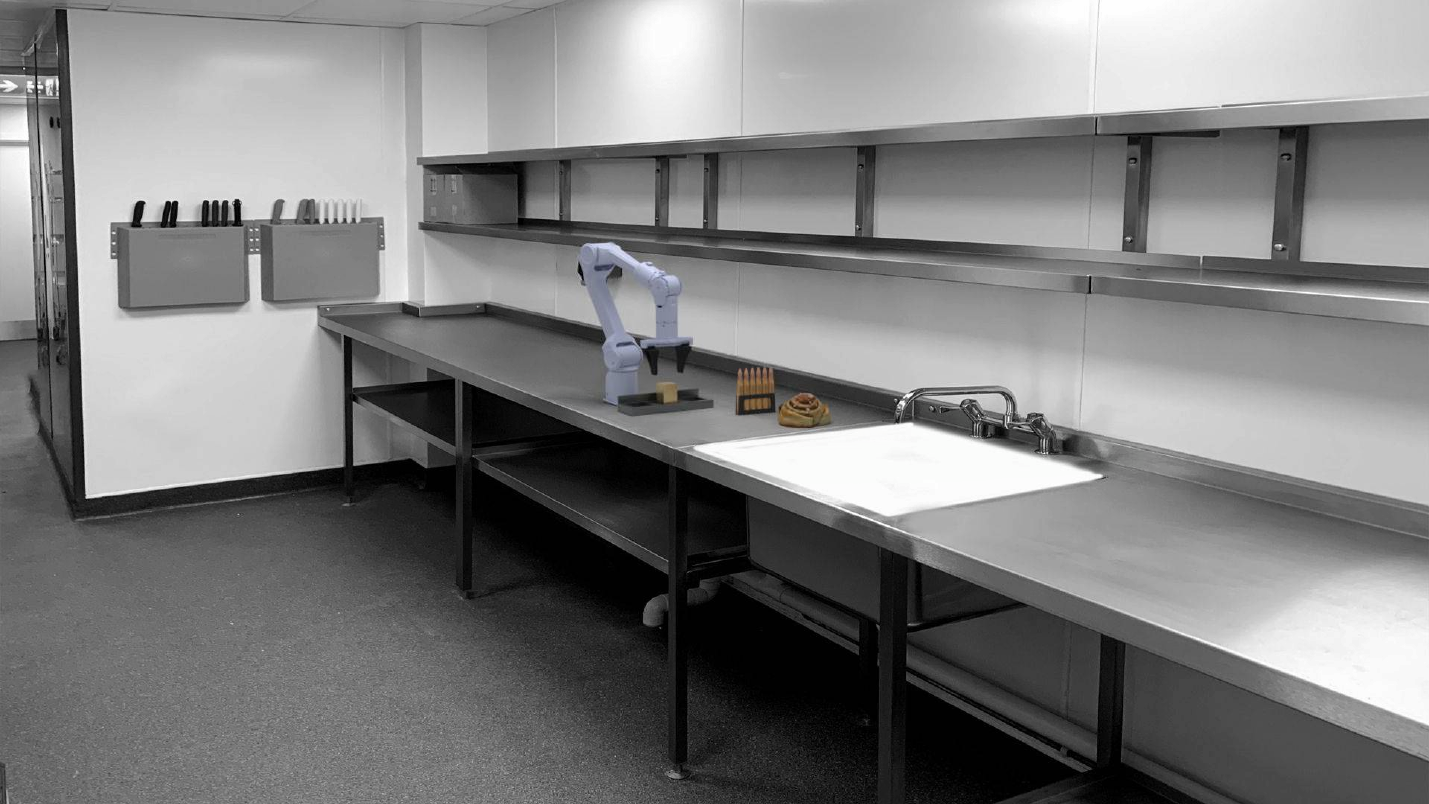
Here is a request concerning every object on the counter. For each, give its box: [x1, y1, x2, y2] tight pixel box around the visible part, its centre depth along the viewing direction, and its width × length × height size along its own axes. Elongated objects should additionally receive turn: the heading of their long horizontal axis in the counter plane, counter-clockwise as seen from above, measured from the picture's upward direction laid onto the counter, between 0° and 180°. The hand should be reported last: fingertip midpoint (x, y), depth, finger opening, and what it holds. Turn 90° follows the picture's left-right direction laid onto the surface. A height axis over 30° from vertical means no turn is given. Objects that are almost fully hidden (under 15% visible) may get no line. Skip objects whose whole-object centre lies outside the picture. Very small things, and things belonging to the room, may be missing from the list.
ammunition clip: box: [735, 366, 777, 416], centre depth 309 cm, size 11×2×12 cm, turn 113°
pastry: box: [777, 392, 831, 429], centre depth 297 cm, size 13×15×8 cm
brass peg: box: [655, 381, 678, 404], centre depth 316 cm, size 4×4×7 cm
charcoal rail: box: [617, 387, 715, 417], centre depth 316 cm, size 9×24×4 cm, turn 120°
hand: (667, 373), depth 315 cm, fingers open, 7 cm apart
